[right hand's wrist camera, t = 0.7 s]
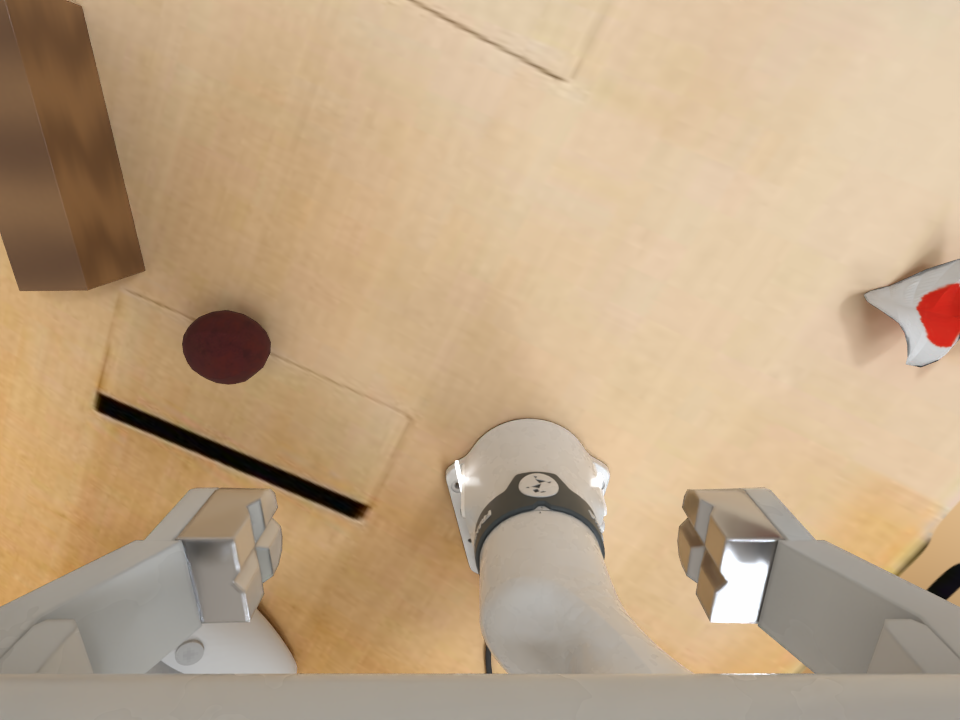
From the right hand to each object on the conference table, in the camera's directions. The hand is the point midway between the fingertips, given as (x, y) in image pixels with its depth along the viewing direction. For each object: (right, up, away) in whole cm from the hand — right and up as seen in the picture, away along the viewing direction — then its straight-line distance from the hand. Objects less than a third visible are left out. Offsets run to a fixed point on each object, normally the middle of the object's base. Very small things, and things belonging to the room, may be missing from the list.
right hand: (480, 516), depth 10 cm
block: (-36, +22, +38) cm, 57 cm away
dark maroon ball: (-25, +6, +45) cm, 51 cm away
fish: (+45, +8, +44) cm, 63 cm away
